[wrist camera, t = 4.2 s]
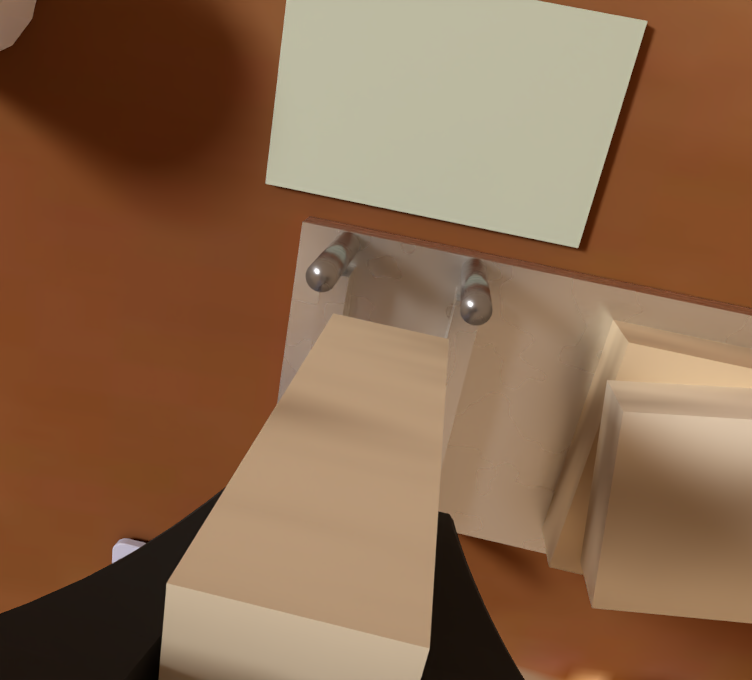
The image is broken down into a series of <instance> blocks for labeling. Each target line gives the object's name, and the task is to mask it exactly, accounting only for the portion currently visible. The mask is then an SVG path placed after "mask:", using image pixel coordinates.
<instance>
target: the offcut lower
mask: <svg viewBox="0 0 752 680" xmlns="http://www.w3.org/2000/svg"><path fill="white" fill-rule="evenodd" d="M607 380H616V381H634V382H652V383H669V384H687V385H705V386H723V387H740V388H752V349H750V348H745V347H740V346H735V345H731V344H726V343H721V342H717V341H712V340H707V339H702V338H698V337H693V336H688V335H684V334H679V333H674V332H669V331H665V330H660V329H655V328H651V327H646V326H641V325H636V324H632V323H627V322H622V321H618V320H613V321H612V324H611V327H610V330H609V333H608V336H607V339H606V342H605V345H604V348H603V351H602V354H601V356H600V359H599V362H598V365H597V368H596V371H595V374H594V377H593V380H592V383H591V386H590V389H589V392H588V395H587V398H586V400H585V403H584V406H583V409H582V412H581V415H580V418H579V421H578V424H577V427H576V430H575V433H574V436H573V439H572V442H571V444H570V447H569V450H568V453H567V456H566V459H565V462H564V465H563V468H562V471H561V474H560V477H559V480H558V483H557V486H556V488H555V491H554V494H553V497H552V500H551V503H550V506H549V509H548V512H547V515H546V518H545V521H544V524H543V527H542V532H543V538H544V543H545V549H546V554H547V560H548V565H549V567H551V568H556V569H560V570H564V571H568V572H573V573H577V574H581V575H583V571H582V567H581V563H580V561H581V554H582V547H583V540H584V533H585V526H586V520H587V513H588V506H589V499H590V492H591V486H592V479H593V472H594V465H595V458H596V452H597V445H598V438H599V431H600V424H601V417H602V411H603V404H604V397H605V390H606V383H607Z"/></svg>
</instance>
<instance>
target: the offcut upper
mask: <svg viewBox="0 0 752 680" xmlns="http://www.w3.org/2000/svg"><path fill="white" fill-rule="evenodd" d="M580 563H581V567H582V571H583V575H584V579H585V583H586V587H587V590H588V594H589V598H590V602H591V606H592V608H598V609H608V610H618V611H629V612H639V613H649V614H660V615H670V616H680V617H691V618H701V619H711V620H721V621H732V622H742V623H752V388H740V387H723V386H705V385H687V384H669V383H652V382H634V381H616V380H607V383H606V390H605V397H604V404H603V411H602V417H601V424H600V431H599V438H598V445H597V452H596V458H595V465H594V472H593V479H592V486H591V492H590V499H589V506H588V513H587V520H586V526H585V533H584V540H583V547H582V554H581V561H580Z"/></svg>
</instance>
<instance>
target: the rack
mask: <svg viewBox="0 0 752 680" xmlns="http://www.w3.org/2000/svg"><path fill="white" fill-rule="evenodd" d="M333 313H334V314H338V315H343V316H347V317H352V318H356V319H361V320H365V321H370V322H374V323H379V324H383V325H388V326H392V327H397V328H401V329H406V330H410V331H415V332H419V333H424V334H428V335H433V336H437V337H442V338H446V339H449V347H448V363H447V379H446V395H445V411H444V427H443V443H442V459H441V475H440V491H439V507H438V511H439V512H444V513H448V514H450V516H451V517H452V519H453V520H454V524H455V528H456V531H457V533H459V534H464V535H468V536H472V537H476V538H481V539H485V540H489V541H494V542H498V543H502V544H506V545H511V546H515V547H519V548H524V549H528V550H532V551H536V552H541V553H545V554H546V549H545V543H544V538H543V532H542V527H543V524H544V521H545V518H546V515H547V512H548V509H549V506H550V503H551V500H552V497H553V494H554V491H555V488H556V486H557V483H558V480H559V477H560V474H561V471H562V468H563V465H564V462H565V459H566V456H567V453H568V450H569V447H570V444H571V442H572V439H573V436H574V433H575V430H576V427H577V424H578V421H579V418H580V415H581V412H582V409H583V406H584V403H585V400H586V398H587V395H588V392H589V389H590V386H591V383H592V380H593V377H594V374H595V371H596V368H597V365H598V362H599V359H600V356H601V354H602V351H603V348H604V345H605V342H606V339H607V336H608V333H609V330H610V327H611V324H612V321H613V320H618V321H622V322H627V323H632V324H636V325H641V326H646V327H651V328H655V329H660V330H665V331H669V332H674V333H679V334H684V335H688V336H693V337H698V338H702V339H707V340H712V341H717V342H721V343H726V344H731V345H735V346H740V347H745V348H750V349H752V309H751V308H747V307H742V306H737V305H732V304H727V303H723V302H718V301H713V300H708V299H703V298H699V297H694V296H689V295H684V294H679V293H675V292H670V291H665V290H660V289H656V288H651V287H646V286H641V285H636V284H632V283H627V282H622V281H617V280H612V279H608V278H603V277H598V276H593V275H588V274H584V273H579V272H574V271H569V270H564V269H560V268H555V267H550V266H545V265H540V264H536V263H531V262H526V261H521V260H517V259H512V258H507V257H502V256H497V255H493V254H488V253H483V252H478V251H473V250H469V249H464V248H459V247H454V246H449V245H445V244H440V243H435V242H430V241H425V240H421V239H416V238H411V237H406V236H401V235H397V234H392V233H387V232H382V231H378V230H373V229H368V228H363V227H358V226H354V225H349V224H344V223H339V222H334V221H330V220H325V219H320V218H315V217H308V218H307V219H306V220H304V221H303V223H302V230H301V237H300V244H299V251H298V259H297V266H296V273H295V280H294V287H293V294H292V302H291V309H290V316H289V323H288V330H287V338H286V345H285V352H284V359H283V366H282V373H281V381H280V388H279V395H278V402H279V400H280V399H281V397H282V396H283V394H284V392H285V391H286V389H287V388H288V386H289V384H290V383H291V381H292V379H293V378H294V376H295V375H296V373H297V371H298V370H299V368H300V367H301V365H302V363H303V362H304V360H305V358H306V357H307V355H308V354H309V352H310V350H311V349H312V347H313V346H314V344H315V342H316V341H317V339H318V337H319V336H320V334H321V333H322V331H323V329H324V328H325V326H326V324H327V323H328V321H329V320H330V318H331V316H332V315H333ZM278 402H277V404H278Z"/></svg>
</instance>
